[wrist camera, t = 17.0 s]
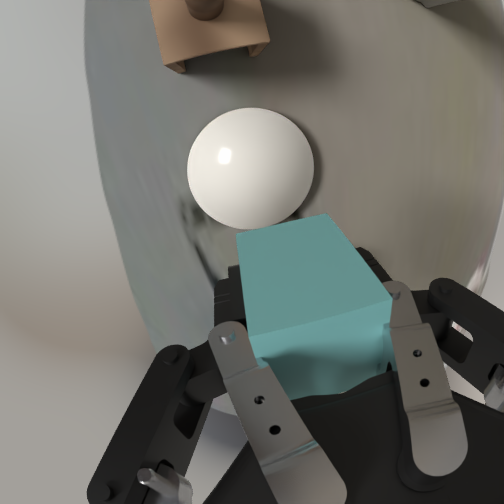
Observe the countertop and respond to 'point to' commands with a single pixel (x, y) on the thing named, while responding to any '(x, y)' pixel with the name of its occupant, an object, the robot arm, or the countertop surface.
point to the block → (312, 306)
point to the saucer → (250, 168)
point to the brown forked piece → (207, 28)
